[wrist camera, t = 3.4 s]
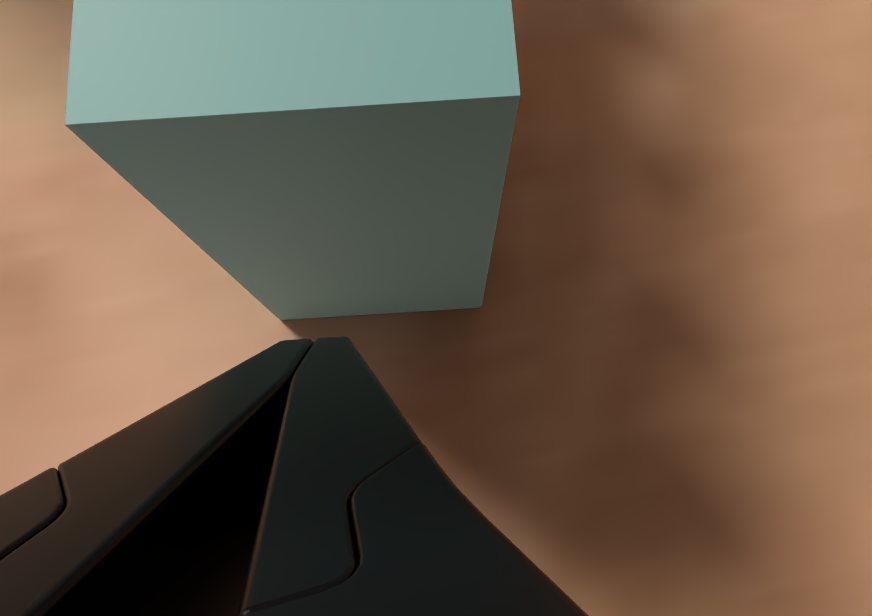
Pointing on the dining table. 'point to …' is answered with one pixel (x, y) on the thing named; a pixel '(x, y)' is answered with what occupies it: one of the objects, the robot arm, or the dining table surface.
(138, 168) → the domino
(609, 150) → the dining table surface
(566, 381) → the dining table surface
